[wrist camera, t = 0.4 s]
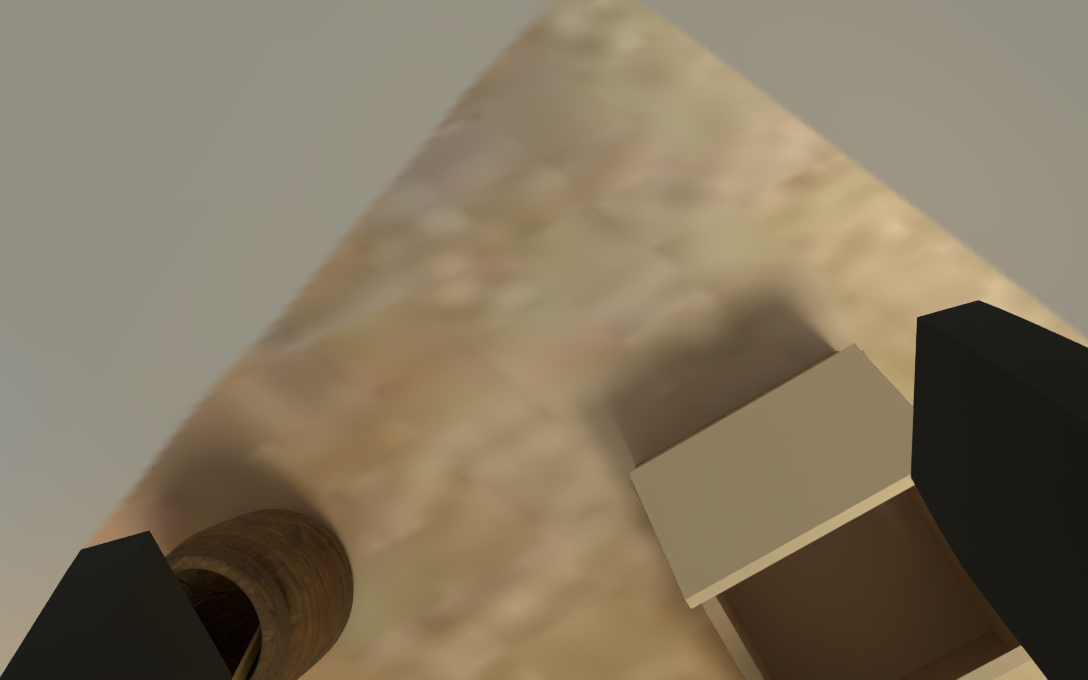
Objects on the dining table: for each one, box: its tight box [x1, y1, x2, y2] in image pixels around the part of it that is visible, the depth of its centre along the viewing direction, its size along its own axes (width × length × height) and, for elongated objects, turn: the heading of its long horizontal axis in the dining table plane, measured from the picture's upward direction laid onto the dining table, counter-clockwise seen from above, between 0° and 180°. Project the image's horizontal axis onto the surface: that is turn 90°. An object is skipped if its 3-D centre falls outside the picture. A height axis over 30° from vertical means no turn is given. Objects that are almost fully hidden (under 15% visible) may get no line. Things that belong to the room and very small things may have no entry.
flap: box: [629, 344, 915, 609], centre depth 29 cm, size 6×8×1 cm
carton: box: [631, 351, 1021, 680], centre depth 33 cm, size 11×8×5 cm
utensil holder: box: [165, 510, 353, 680], centre depth 32 cm, size 6×6×12 cm
